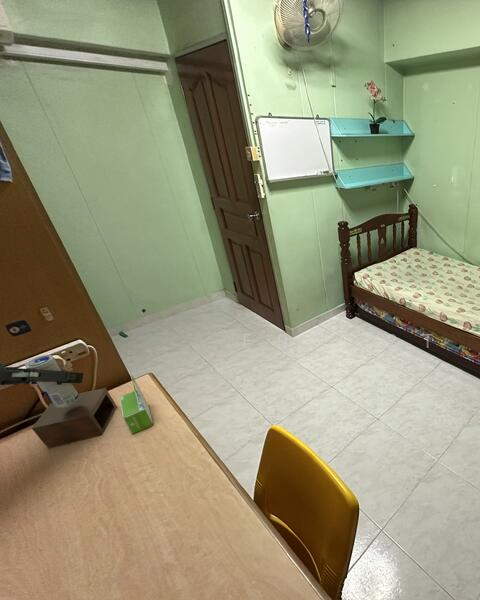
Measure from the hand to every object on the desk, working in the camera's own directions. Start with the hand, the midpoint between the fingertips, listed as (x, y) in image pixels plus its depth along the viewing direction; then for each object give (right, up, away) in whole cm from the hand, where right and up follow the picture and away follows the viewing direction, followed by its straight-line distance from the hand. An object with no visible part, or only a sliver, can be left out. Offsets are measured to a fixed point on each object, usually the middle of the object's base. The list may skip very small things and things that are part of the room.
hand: (69, 378), depth 87 cm
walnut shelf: (0, -15, +4) cm, 15 cm away
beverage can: (0, -7, -1) cm, 7 cm away
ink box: (+15, -14, +7) cm, 21 cm away
